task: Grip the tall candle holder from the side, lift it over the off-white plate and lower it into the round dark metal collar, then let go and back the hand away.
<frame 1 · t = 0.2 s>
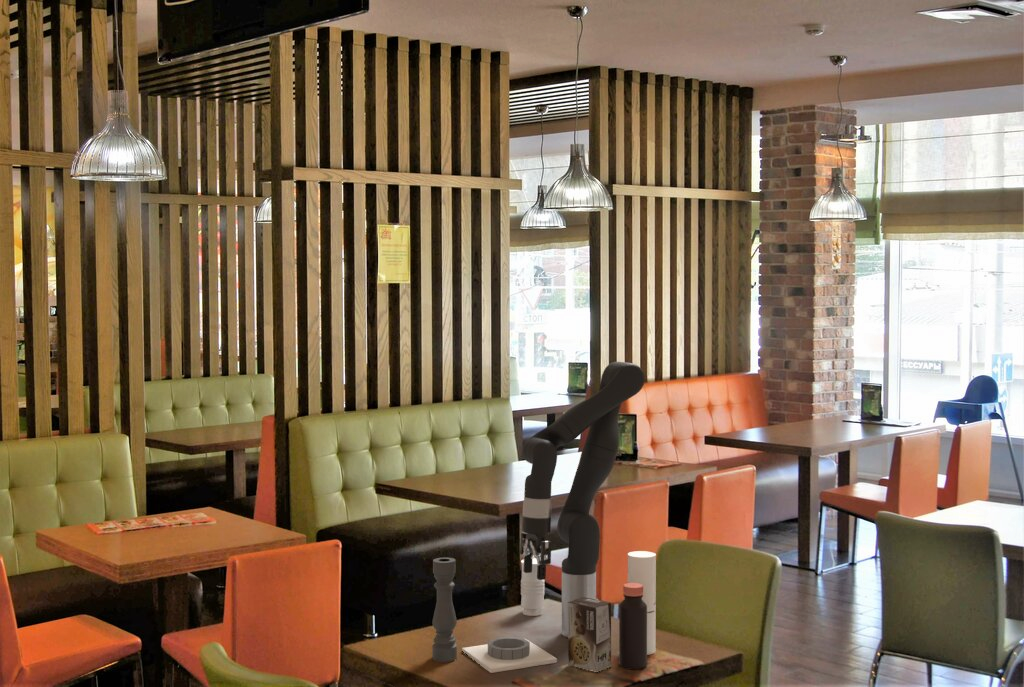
hand: (534, 575, 298), 18 cm above the table, tool pointing down, fingers open, 8 cm apart
candle: (532, 613, 326), on the table
bottle: (633, 666, 280), on the table
collar plate: (508, 657, 286), on the table
candle holder: (444, 659, 285), on the table
coffee box: (589, 667, 279), on the table
cylindrical container: (641, 651, 291), on the table
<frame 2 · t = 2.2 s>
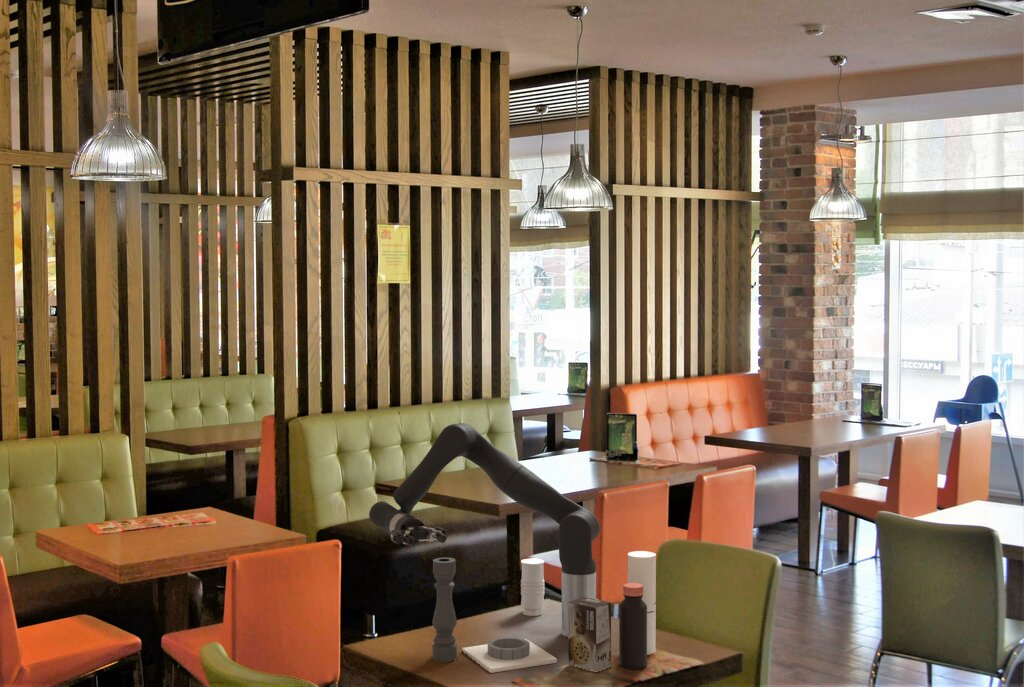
hand: (428, 540, 294), 28 cm above the table, tool horizontal, fingers open, 8 cm apart
nothing on the table moved.
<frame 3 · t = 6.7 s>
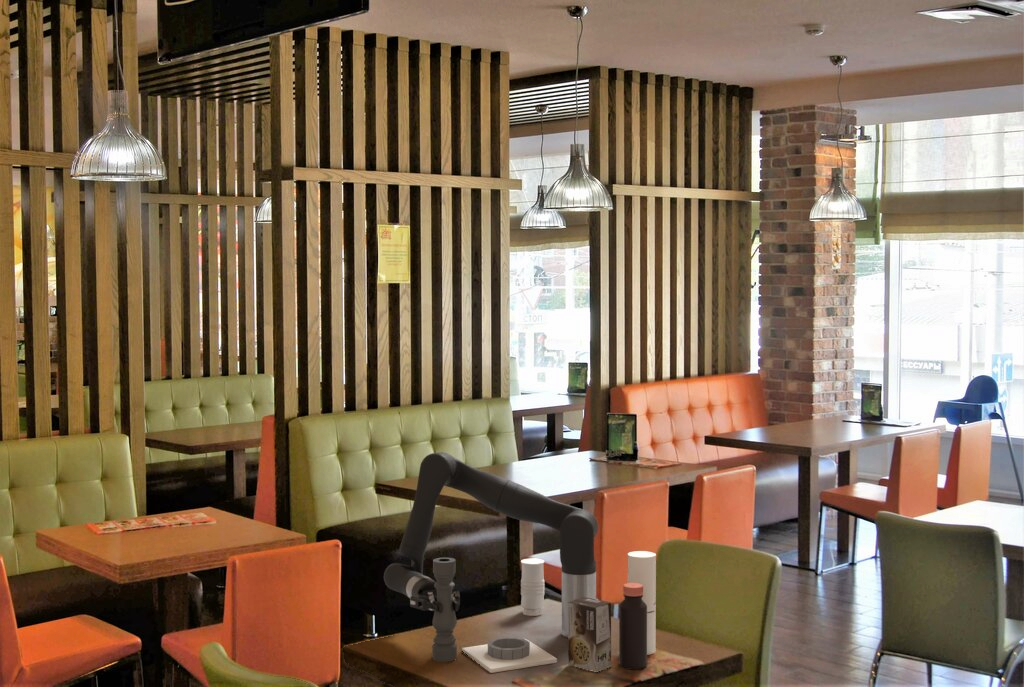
hand: (448, 608, 282), 14 cm above the table, tool horizontal, fingers closed on candle holder, 3 cm apart
candle holder: (444, 659, 285), on the table, touching gripper
everything else where it was.
when the fingers open (15 cm above the table, at t = 12.1 s): candle holder stays where it is, resting on collar plate.
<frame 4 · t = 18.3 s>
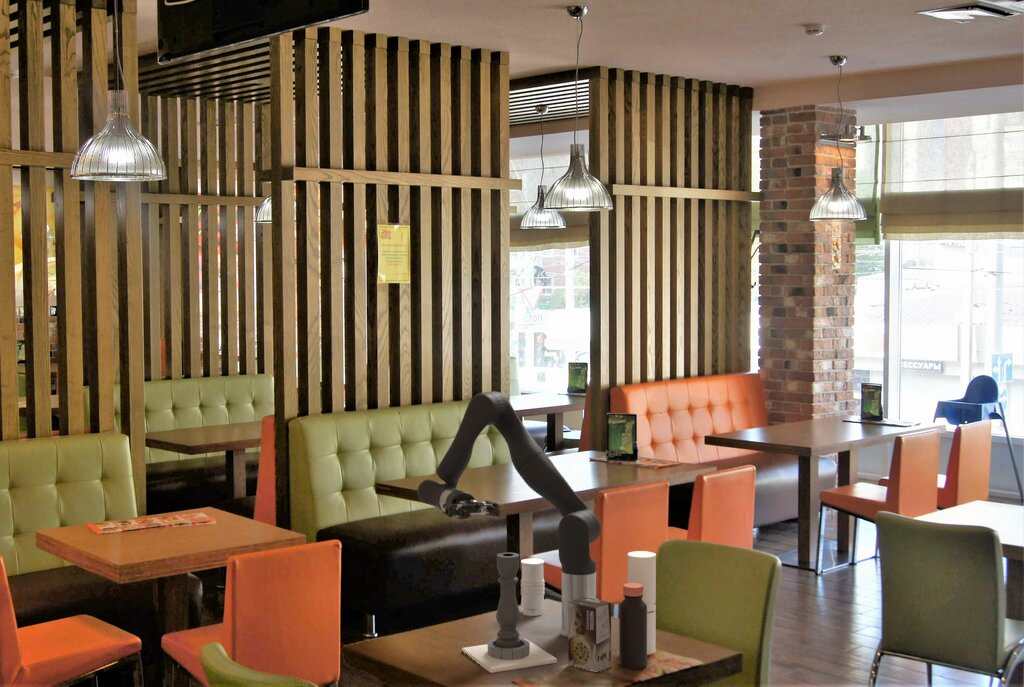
hand: (480, 513, 298), 34 cm above the table, tool horizontal, fingers open, 8 cm apart
candle holder: (508, 653, 286), point 1 cm above the table, touching collar plate
everything else where it was.
at the end: candle holder 0.2 cm off-centre on the collar plate, point 0.8 cm above the collar plate's base; candle holder tilted 0°; the gripper is holding nothing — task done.
